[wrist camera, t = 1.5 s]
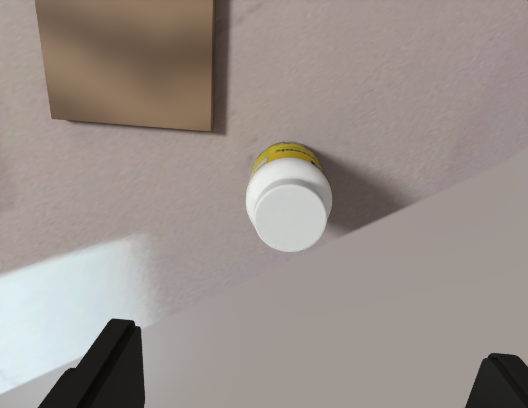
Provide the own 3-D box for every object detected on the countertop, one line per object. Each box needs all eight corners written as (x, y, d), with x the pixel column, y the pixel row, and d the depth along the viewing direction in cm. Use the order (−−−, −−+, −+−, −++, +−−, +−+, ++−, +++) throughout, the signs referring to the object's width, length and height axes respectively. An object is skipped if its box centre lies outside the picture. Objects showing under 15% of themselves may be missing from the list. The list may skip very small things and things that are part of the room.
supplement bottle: (334, 162, 27) (362, 207, 18) (295, 216, 29) (303, 281, 20) (276, 125, 26) (275, 152, 17) (240, 182, 28) (221, 234, 19)
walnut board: (34, -70, 23) (23, -76, 22) (216, -57, 23) (213, -63, 22) (59, 117, 27) (51, 118, 26) (212, 129, 27) (210, 131, 26)
